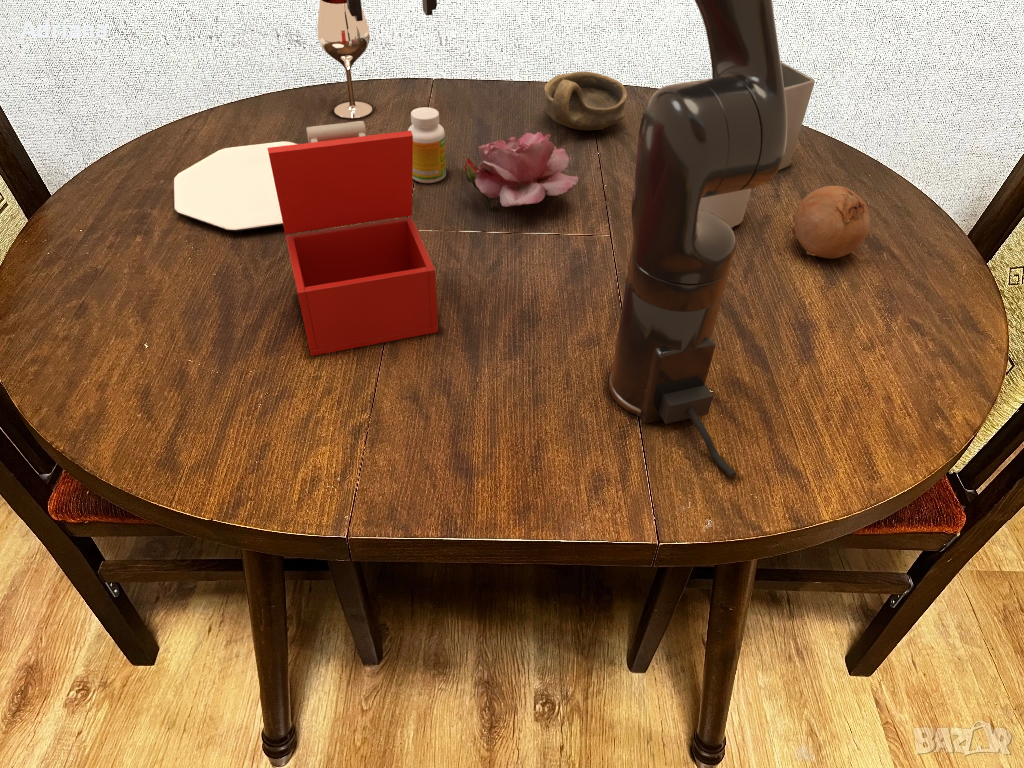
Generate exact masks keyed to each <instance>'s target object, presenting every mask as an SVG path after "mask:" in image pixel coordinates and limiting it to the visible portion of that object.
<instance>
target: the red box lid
mask: <svg viewBox="0 0 1024 768" xmlns="http://www.w3.org/2000/svg"><path fill="white" fill-rule="evenodd" d="M306 136H307V141H308V142H305V143H295V145H287V146H279V147H270V148H267V149H268V154H269V158H270V163H271V168H272V173H273V178H274V183H275V187H276V192H277V197H278V202H279V207H280V211H281V216H282V221H283V225H282V226H283V229H284V231H283V232H284V234H285V235H293V234H299V233H306V232H313V231H320V230H326V229H333V228H340V227H346V226H353V225H360V224H367V223H373V222H380V221H387V220H394V219H400V218H407V217H412V216H413V183H414V181H413V180H414V179H413V135H412V132H411V131H408V130H404V131H396V132H395V131H394V132H387V133H379V134H371V135H367V129H366V124H365V121H364V120H356V121H349V122H340V123H331V124H321V125H314V126H313V125H312V126H306Z"/></svg>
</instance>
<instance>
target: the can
mask: <svg viewBox="0 0 1024 768" xmlns="http://www.w3.org/2000/svg"><path fill="white" fill-rule="evenodd" d="M751 191H752V188H751V189H746V190H740V191H736V192H731V193H726V194H720V195H715V196H710V197H705V198H701V201H700V204H699V208H701V209H704V210H707V211H709V212H711V213H713V214H715V215H717V216H718V217H720V218H721V219H723V220H724V221H725V222H726V223H727V224H728V225H729V226H730V227H731V228H732V229H733V228H735V226H737V225H740V224H742V222H743V221H744V217H745V214H746V210H747V206H748V202H749V199H750V196H751V193H752V192H751Z"/></svg>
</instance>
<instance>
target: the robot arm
mask: <svg viewBox="0 0 1024 768" xmlns="http://www.w3.org/2000/svg"><path fill="white" fill-rule="evenodd" d="M694 2H695V4H696V7H697V9H698V11H699V14H700V16H701V19H702V21H703V25H704V30H705V33H706V37H707V44H708V49H709V55H710V63H711V75H712V76H711V78H706V79H700V80H699V79H698V80H692V81H685V82H677V83H672V84H668V85H665V86H662V87H660V88H659V89H657V90H656V91H654V92H653V94H652V95H651V97H650V98H649V100H648V101H647V103H646V106H645V107H644V111H643V114H642V116H641V120H640V125H639V130H638V139H637V148H636V157H635V170H634V181H633V191H632V199H631V216H630V217H631V228H632V242H631V249H630V255H629V262H628V269H627V274H626V281H625V285H624V292H623V300H622V304H621V311H620V318H619V323H618V330H617V335H616V342H615V348H614V354H613V360H612V361H613V362H612V367H611V371H610V374H609V380H608V388H609V392H610V394H611V396H612V398H613V400H614V401H615V402H616V403H617V404H618V405H619V406H620V407H621V408H623V409H624V410H625V411H627V412H629V413H630V414H633V415H635V416H638V417H639V418H640V419H641V420H642V422H643V423H644V424H652V423H657V422H660V421H663V422H664V424H665V425H668V424H673V423H676V422H680V421H685V420H689V419H690V420H691V421H692V424H693V425H694V427H695V428H696V429H697V431H698V432H699V435H700V436H701V438H702V440H703V442H704V443H705V447H706V448H707V450H708V453H709V455H710V456H711V458H712V459H713V461H714V462H715V463H716V465H717V466H718V467H720V469H721V470H722V471H723V472H724V473H725V474H726V475H727V476H728V477H729V478H730V479H733V478H734V477H735V476H736V475H737V472H736V471H735V470H734V469H733V468H732V467H731V466H730V465H729V464H728V463H727V462H726V461H725V460H724V459H723V458H722V456H721V455H720V454H719V452H718V450H717V448H716V447H715V444H714V442H713V440H712V438H711V435H710V434H709V432H708V430H707V428H706V427H705V425H704V424H703V422H702V421H701V419H700V418H699V417H702V416H706V415H709V413H710V409H711V407H712V404H713V399H714V394H713V393H712V392H711V391H710V389H709V388H708V386H707V384H706V382H707V378H708V376H709V375H708V374H709V372H710V367H711V364H712V360H713V357H714V353H715V349H716V346H717V345H716V342H715V341H714V340H713V339H712V337H713V333H714V329H715V326H716V323H717V319H718V315H719V311H720V307H721V304H722V299H723V296H724V292H725V290H726V286H727V283H728V278H729V275H730V272H731V268H732V264H733V260H734V257H735V253H736V247H737V237H736V234H735V232H734V230H733V227H732V228H731V227H730V226H729V225H728V224H727V223H726V222H725V221H724V220H723V219H721V218H720V217H718V216H717V215H715V214H713V213H711V212H709V211H707V210H704V209H701V208H699V204H700V201H701V198H705V197H710V196H715V195H720V194H726V193H731V192H736V191H740V190H746V189H751V190H752V189H754V188H758V187H760V186H764V185H765V184H767V183H769V182H770V181H771V180H772V179H773V178H774V177H775V176H776V174H777V173H778V171H780V170H779V167H780V165H781V163H782V161H783V157H784V154H785V149H786V142H787V108H786V98H785V90H784V82H783V75H782V68H781V62H782V61H781V54H780V48H779V41H778V34H777V33H778V32H777V27H776V20H775V11H774V4H773V0H694ZM421 3H422V5H421V6H422V11H423V13H424V14H425V16H433V11H435V10H437V6H438V0H422V1H421ZM347 8H348V10H349V12H350V14H351V16H354V17H355V19H356V21H363V17H362V10H363V6H362V0H347Z"/></svg>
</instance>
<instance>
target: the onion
mask: <svg viewBox="0 0 1024 768" xmlns="http://www.w3.org/2000/svg"><path fill="white" fill-rule="evenodd" d="M792 221H793V227H792V228H791V234H792V236H795V238H796V239H797V241H798V243H799V244H800V246H801V247H802V248H803V249H804V250H805V252H806V255H810V256H813V257H818V258H824V259H838V258H842V257H845V256H847V255H850V254H851V253H853V252H854V251H855V250H857V249H858V248H859V247H860V246H861V245H862V244H863V243H864V242H865V240H866V239H867V237H868V235H869V233H870V229H871V217H870V211H869V207H868V205H867V203H866V201H864V199H863V198H862V197H861V196H860V195H859V194H858V193H857V192H855V191H853V189H850V188H847V187H846V186H841V185H825V186H822V187H820V188H817V189H814V190H813V191H812V192H810V193H809V194H808V195H806V196H805V197H804V198H803V199H802V200H801V201H800V202H799V204H798V206H797V207H796V210H795V212H794V215H793V219H792Z"/></svg>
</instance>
